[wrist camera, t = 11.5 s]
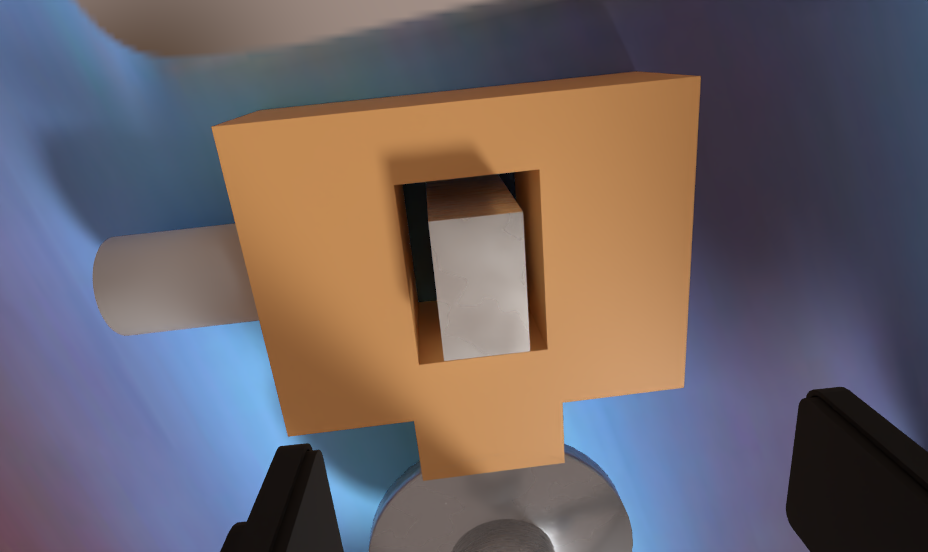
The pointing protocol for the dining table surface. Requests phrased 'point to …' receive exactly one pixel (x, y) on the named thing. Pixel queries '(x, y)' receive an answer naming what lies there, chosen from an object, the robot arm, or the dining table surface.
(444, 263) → the white block
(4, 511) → the dining table surface
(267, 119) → the bracket head
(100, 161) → the dining table surface
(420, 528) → the post
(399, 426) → the dining table surface
